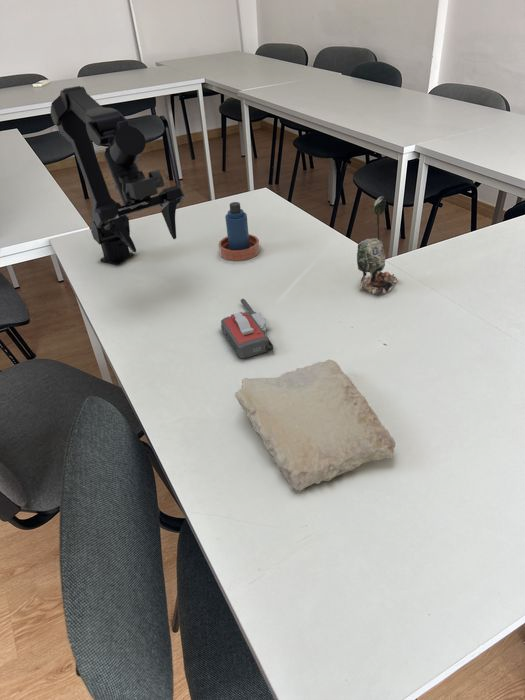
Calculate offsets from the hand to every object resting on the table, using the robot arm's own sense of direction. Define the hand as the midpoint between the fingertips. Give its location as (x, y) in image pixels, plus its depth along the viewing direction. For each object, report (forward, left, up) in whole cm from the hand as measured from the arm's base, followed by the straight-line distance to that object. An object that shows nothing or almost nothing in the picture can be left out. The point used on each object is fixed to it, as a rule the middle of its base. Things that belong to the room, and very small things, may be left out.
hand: (155, 245), depth 111 cm
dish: (+3, +29, -15) cm, 32 cm away
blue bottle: (+3, +29, -14) cm, 32 cm away
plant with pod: (+41, +25, -15) cm, 50 cm away
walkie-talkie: (+22, -2, -15) cm, 26 cm away
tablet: (+45, -22, -15) cm, 52 cm away
